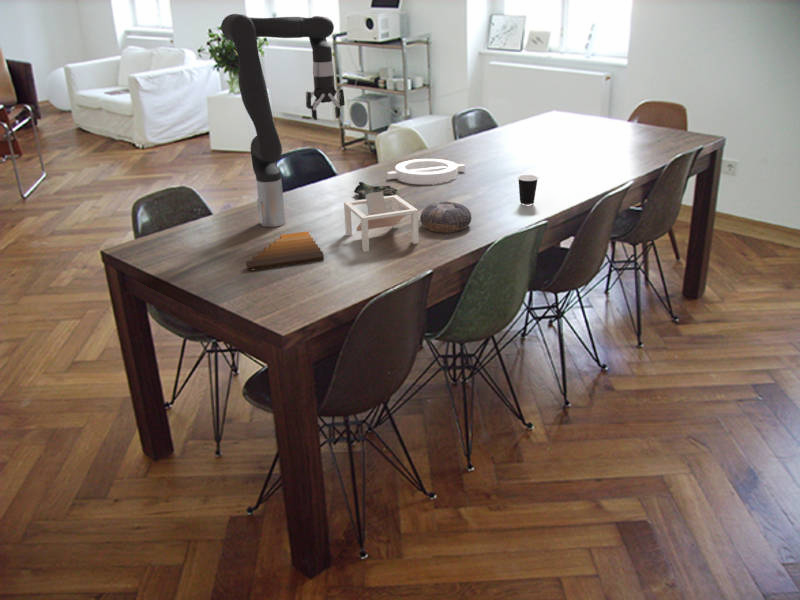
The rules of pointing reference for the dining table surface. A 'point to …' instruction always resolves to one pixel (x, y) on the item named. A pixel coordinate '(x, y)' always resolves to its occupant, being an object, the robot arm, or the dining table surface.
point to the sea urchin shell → (445, 217)
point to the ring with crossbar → (426, 171)
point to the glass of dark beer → (527, 188)
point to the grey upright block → (375, 203)
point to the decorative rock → (374, 190)
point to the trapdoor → (383, 221)
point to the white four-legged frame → (364, 219)
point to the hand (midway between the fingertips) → (326, 118)
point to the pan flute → (287, 252)
